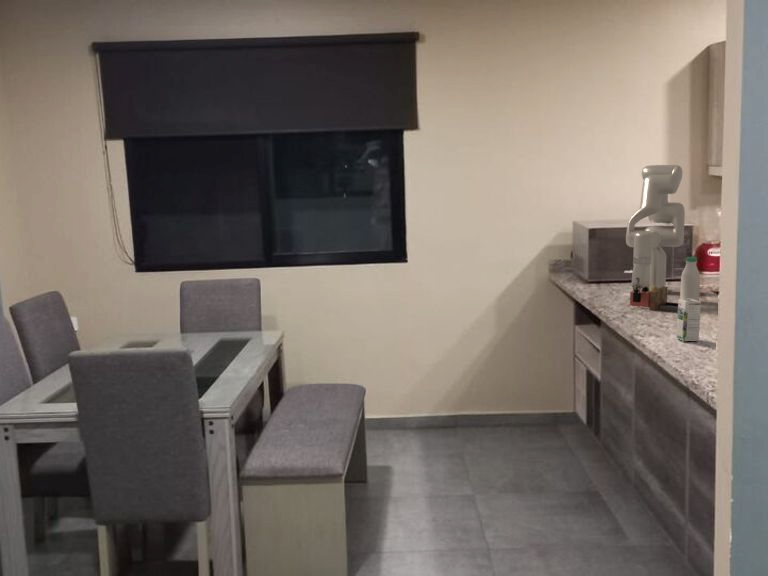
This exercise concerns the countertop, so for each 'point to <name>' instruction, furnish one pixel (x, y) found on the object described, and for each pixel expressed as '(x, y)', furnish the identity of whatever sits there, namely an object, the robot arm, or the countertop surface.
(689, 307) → the syrup box
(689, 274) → the milk bottle
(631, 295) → the red block
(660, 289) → the door board
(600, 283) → the countertop surface
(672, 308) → the tray
